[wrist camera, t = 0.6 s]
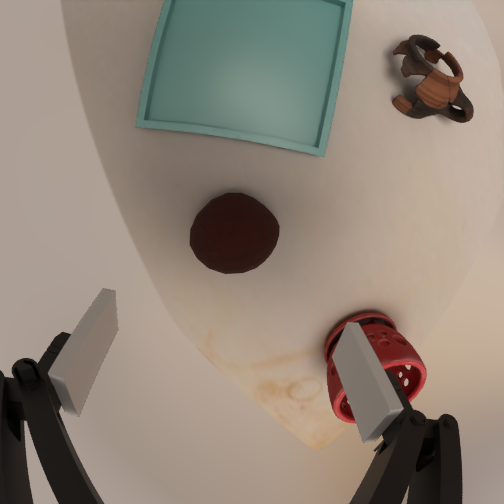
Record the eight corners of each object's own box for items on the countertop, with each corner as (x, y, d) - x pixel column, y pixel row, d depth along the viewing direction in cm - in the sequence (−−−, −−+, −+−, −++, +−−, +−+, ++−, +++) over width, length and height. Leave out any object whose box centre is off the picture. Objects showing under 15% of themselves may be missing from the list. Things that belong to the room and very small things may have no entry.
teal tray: (178, -24, 20) (175, -31, 18) (347, 5, 23) (353, 0, 21) (141, 127, 28) (135, 127, 26) (319, 155, 30) (324, 157, 28)
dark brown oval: (279, 246, 34) (290, 278, 27) (202, 260, 35) (194, 295, 27) (268, 179, 31) (278, 194, 24) (185, 195, 31) (170, 216, 24)
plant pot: (362, 288, 37) (401, 344, 26) (406, 328, 41) (441, 379, 30) (296, 348, 41) (312, 413, 30) (348, 378, 45) (369, 433, 34)
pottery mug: (367, 96, 28) (396, 51, 20) (385, 57, 29) (409, 18, 21) (448, 153, 28) (489, 124, 20) (455, 107, 29) (488, 77, 21)
